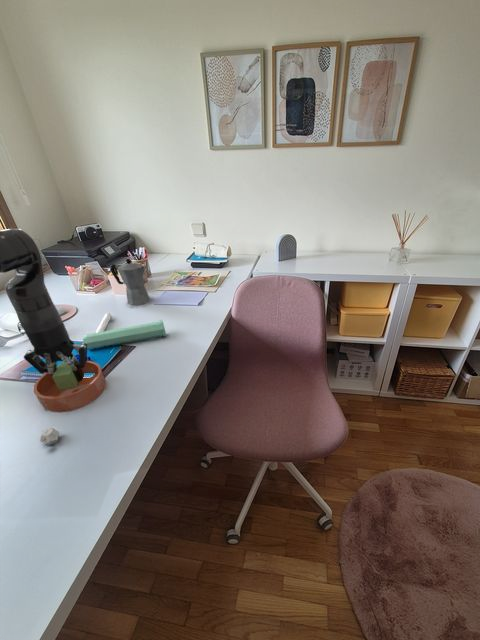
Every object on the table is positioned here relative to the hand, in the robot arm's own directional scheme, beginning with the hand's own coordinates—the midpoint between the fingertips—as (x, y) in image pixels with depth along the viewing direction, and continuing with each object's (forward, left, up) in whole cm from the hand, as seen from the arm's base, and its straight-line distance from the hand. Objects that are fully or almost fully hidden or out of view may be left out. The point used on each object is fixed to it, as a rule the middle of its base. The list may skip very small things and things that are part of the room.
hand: (70, 381), depth 78 cm
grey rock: (0, -17, -4) cm, 17 cm away
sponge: (0, 0, 0) cm, 0 cm away
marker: (0, +36, -4) cm, 36 cm away
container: (+10, +23, -4) cm, 25 cm away
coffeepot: (+9, +57, -4) cm, 58 cm away
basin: (0, 0, -3) cm, 3 cm away
